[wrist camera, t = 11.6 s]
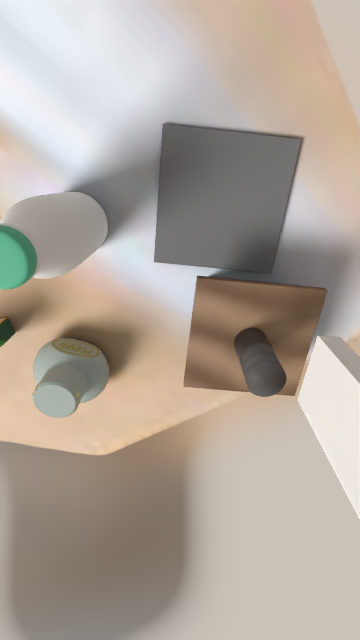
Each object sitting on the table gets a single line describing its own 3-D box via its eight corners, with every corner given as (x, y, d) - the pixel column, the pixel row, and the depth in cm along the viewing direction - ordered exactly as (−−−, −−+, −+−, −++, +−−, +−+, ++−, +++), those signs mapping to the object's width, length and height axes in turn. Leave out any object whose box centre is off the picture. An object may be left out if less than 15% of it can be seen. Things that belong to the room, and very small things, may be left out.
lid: (197, 275, 36) (201, 304, 28) (323, 288, 37) (364, 319, 28) (183, 382, 42) (184, 431, 34) (292, 391, 43) (318, 441, 35)
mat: (163, 124, 36) (163, 123, 35) (299, 139, 36) (301, 139, 36) (154, 261, 42) (154, 262, 42) (269, 272, 43) (270, 273, 43)
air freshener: (117, 347, 48) (102, 387, 39) (106, 389, 51) (90, 434, 42) (46, 328, 47) (14, 364, 38) (39, 372, 50) (8, 415, 41)
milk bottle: (88, 179, 38) (5, 181, 20) (120, 237, 41) (72, 285, 23) (37, 208, 40) (-85, 234, 21) (71, 262, 43) (-11, 325, 24)
